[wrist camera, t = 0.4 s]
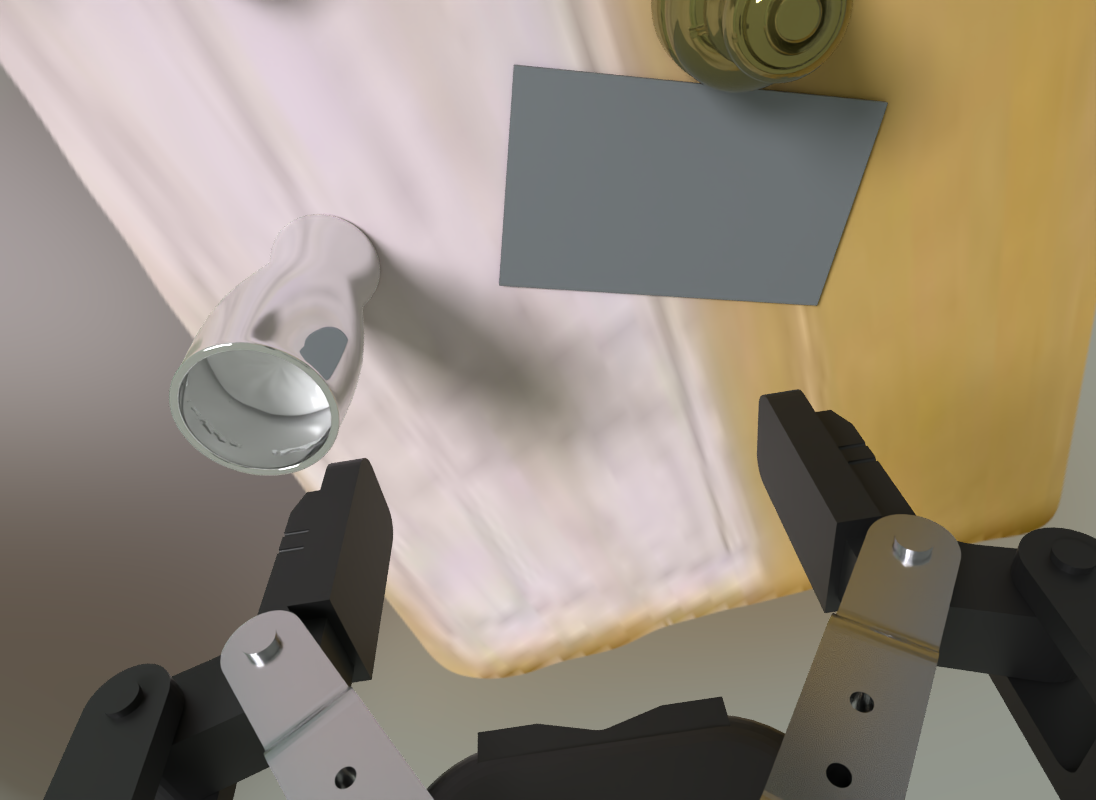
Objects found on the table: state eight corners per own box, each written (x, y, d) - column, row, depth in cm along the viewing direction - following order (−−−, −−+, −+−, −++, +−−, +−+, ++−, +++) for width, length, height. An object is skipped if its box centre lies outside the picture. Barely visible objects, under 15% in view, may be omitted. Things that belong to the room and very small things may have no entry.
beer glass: (250, 208, 38) (135, 343, 26) (378, 202, 38) (325, 333, 26) (280, 320, 42) (194, 485, 30) (396, 314, 42) (358, 474, 30)
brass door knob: (753, 98, 37) (829, 147, 29) (625, 47, 35) (667, 84, 27) (828, -60, 33) (941, -55, 25) (689, -126, 31) (761, -145, 23)
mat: (513, 64, 35) (514, 65, 35) (885, 101, 37) (887, 102, 37) (499, 283, 42) (499, 285, 41) (815, 303, 44) (816, 305, 44)
